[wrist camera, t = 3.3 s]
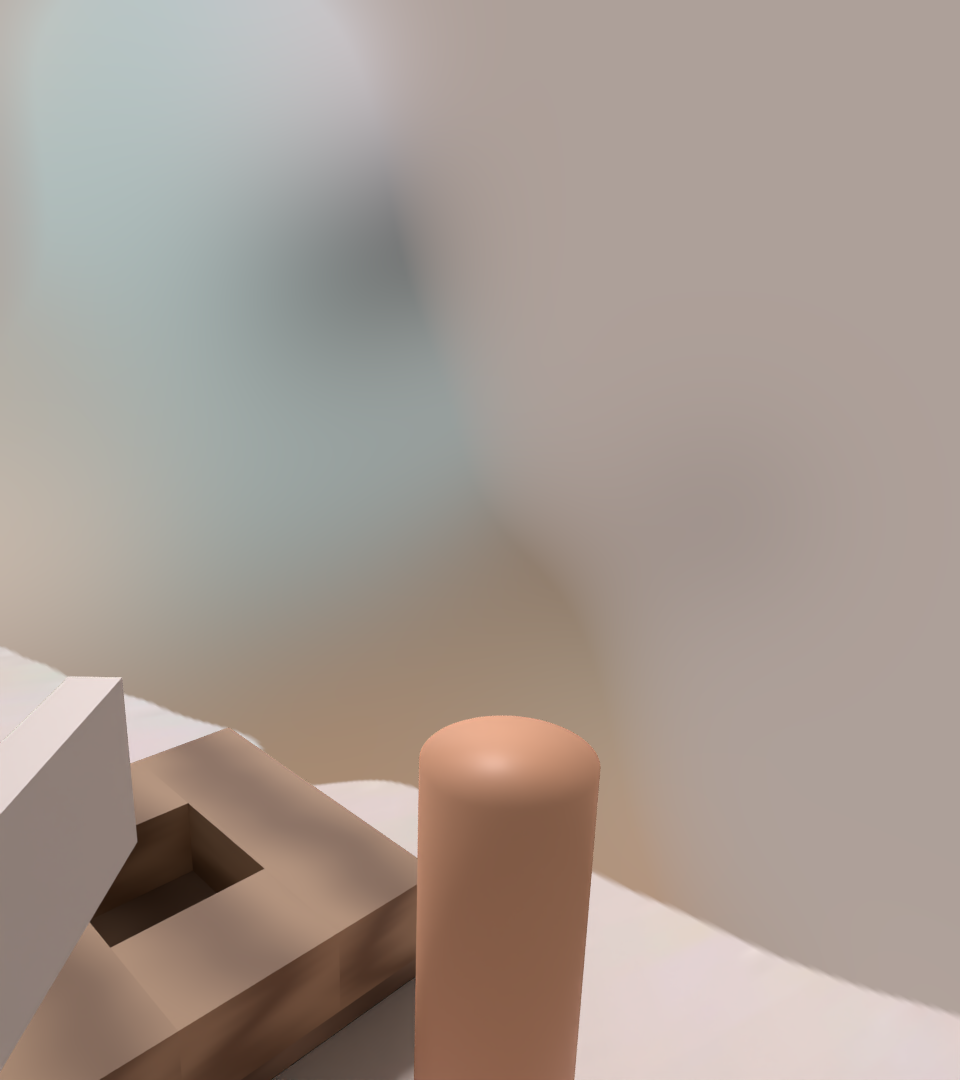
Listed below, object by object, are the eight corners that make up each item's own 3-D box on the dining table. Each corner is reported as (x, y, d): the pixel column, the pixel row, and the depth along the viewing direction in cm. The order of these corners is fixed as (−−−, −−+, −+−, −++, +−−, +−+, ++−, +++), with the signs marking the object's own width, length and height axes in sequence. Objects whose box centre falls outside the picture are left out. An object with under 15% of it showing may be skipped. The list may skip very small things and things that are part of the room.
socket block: (28, 1252, 28) (9, 1134, 26) (-116, 953, 40) (-134, 861, 38) (435, 962, 40) (437, 872, 39) (232, 801, 52) (228, 727, 51)
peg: (488, 1359, 25) (517, 837, 20) (380, 1232, 29) (381, 755, 24) (590, 1234, 29) (636, 761, 24) (483, 1134, 32) (504, 700, 27)
